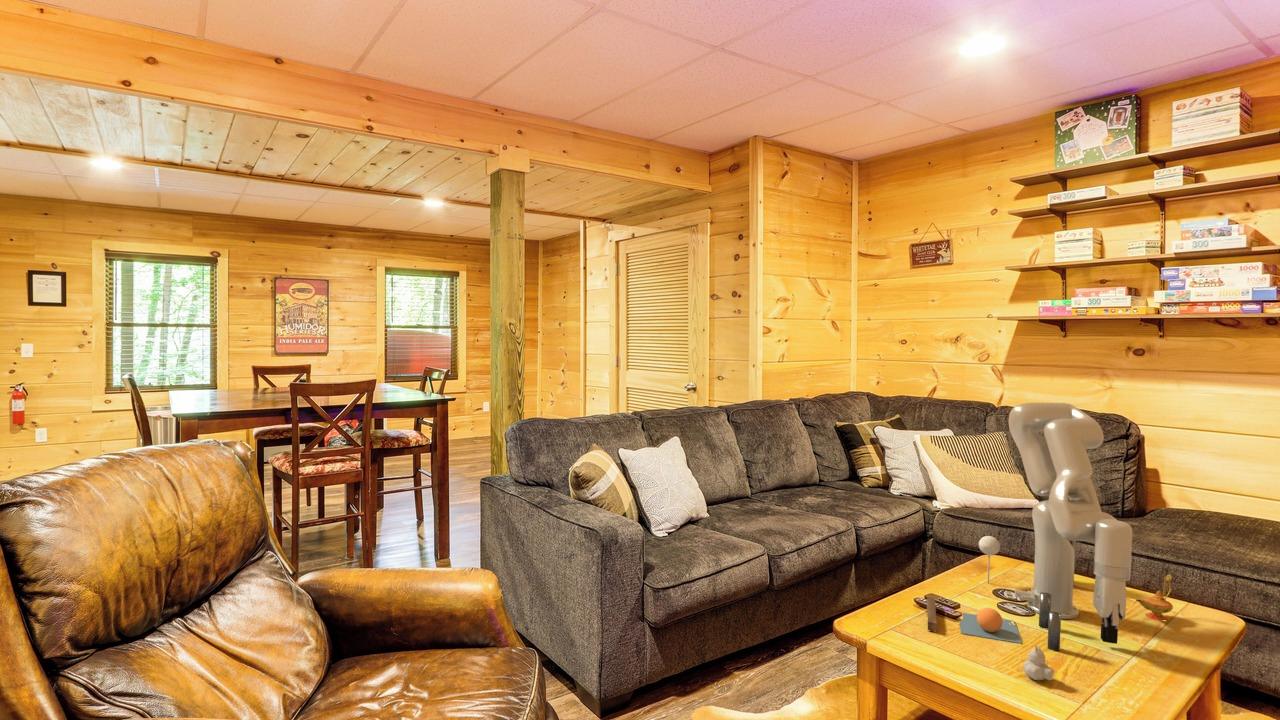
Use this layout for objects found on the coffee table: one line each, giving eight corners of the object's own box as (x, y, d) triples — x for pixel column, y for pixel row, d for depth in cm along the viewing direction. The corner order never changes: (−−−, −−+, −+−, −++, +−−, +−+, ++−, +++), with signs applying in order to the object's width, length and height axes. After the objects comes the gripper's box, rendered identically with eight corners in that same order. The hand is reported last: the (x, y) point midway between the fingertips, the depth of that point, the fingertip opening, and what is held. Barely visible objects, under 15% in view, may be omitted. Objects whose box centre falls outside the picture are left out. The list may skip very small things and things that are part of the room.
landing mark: (960, 633, 173) (960, 632, 173) (957, 612, 186) (958, 611, 186) (1021, 643, 168) (1021, 643, 168) (1014, 621, 181) (1014, 620, 181)
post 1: (1039, 628, 177) (1040, 595, 176) (1038, 624, 179) (1039, 591, 179) (1050, 629, 176) (1052, 596, 175) (1049, 625, 178) (1050, 593, 178)
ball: (1000, 610, 171) (1009, 632, 171) (993, 601, 177) (1002, 623, 177) (976, 616, 173) (985, 638, 172) (970, 607, 179) (979, 629, 178)
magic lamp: (1122, 620, 182) (1124, 581, 182) (1155, 607, 191) (1157, 570, 190) (1150, 630, 176) (1152, 589, 176) (1184, 616, 185) (1186, 578, 184)
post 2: (1048, 649, 165) (1049, 614, 164) (1046, 645, 167) (1047, 610, 167) (1060, 651, 164) (1062, 616, 163) (1058, 647, 166) (1060, 612, 166)
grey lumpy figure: (1030, 670, 155) (1032, 636, 155) (1060, 683, 149) (1061, 649, 149) (1017, 675, 152) (1018, 642, 152) (1046, 689, 147) (1047, 654, 146)
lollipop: (990, 588, 204) (992, 540, 203) (973, 581, 209) (974, 535, 208) (1003, 584, 207) (1004, 537, 206) (985, 578, 212) (987, 532, 211)
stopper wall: (927, 631, 174) (928, 622, 174) (927, 605, 191) (927, 596, 191) (936, 632, 174) (936, 623, 174) (934, 606, 190) (934, 597, 190)
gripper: (1087, 558, 174) (1084, 626, 175) (1101, 578, 160) (1098, 651, 161) (1121, 562, 171) (1118, 631, 172) (1139, 582, 157) (1135, 658, 158)
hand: (1108, 641), depth 166 cm, fingers closed
